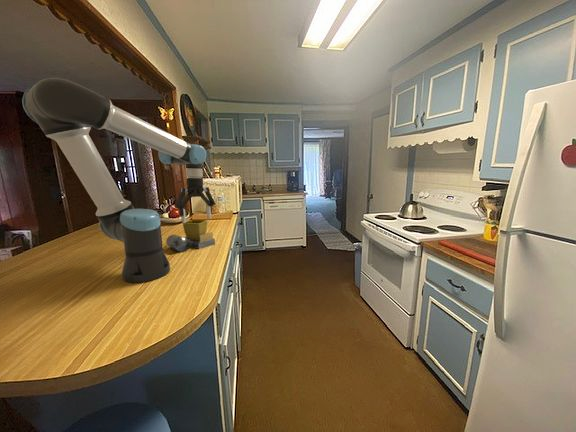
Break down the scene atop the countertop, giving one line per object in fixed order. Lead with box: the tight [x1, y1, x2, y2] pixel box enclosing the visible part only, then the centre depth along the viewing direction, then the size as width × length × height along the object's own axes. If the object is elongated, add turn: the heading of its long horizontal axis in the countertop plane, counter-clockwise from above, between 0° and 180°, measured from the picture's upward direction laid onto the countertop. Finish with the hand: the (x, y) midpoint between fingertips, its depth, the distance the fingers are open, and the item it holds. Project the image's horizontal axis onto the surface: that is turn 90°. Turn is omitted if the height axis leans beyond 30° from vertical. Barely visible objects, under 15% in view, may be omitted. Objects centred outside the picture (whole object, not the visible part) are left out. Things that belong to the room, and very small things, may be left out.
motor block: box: [165, 231, 216, 253], centre depth 116 cm, size 14×19×6 cm
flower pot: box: [182, 219, 208, 240], centre depth 118 cm, size 9×9×9 cm
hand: (196, 220), depth 117 cm, fingers open, 13 cm apart
